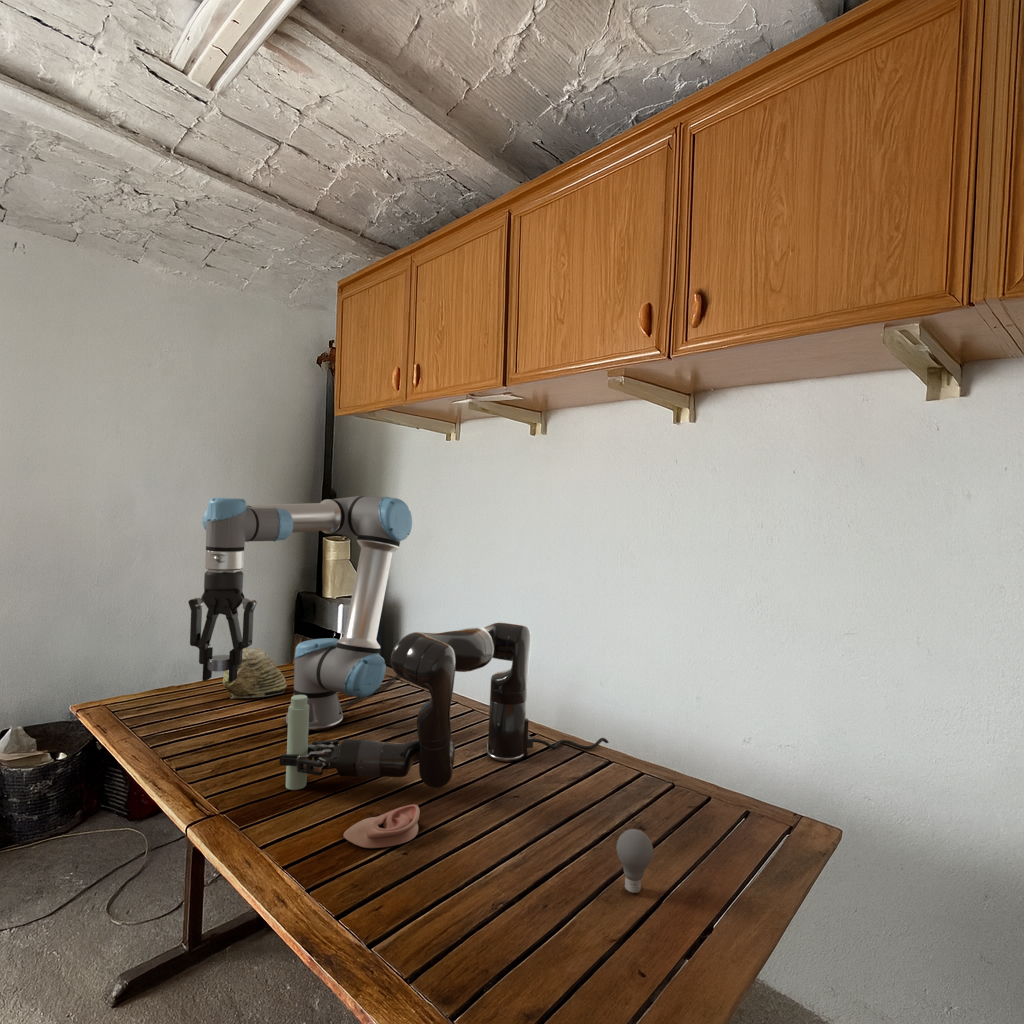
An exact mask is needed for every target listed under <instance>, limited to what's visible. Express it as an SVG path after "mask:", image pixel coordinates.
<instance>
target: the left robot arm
mask: <svg viewBox="0 0 1024 1024" xmlns="http://www.w3.org/2000/svg"><path fill="white" fill-rule="evenodd" d="M202 526H203V529H204V530H205V556H204V569H206V571H205V572H204V578H203V593H202V595H201V596H199V597H195V598H192V599H191V598H190V599H189V600H188V606H189V609H190V628H189V629H190V631H189V632H190V633H189V645H190V646H191V647H195V648H197V649H198V650H199V651H198V663H199V665H202V677H201V679H202V682H207V681H208V680H211V678H212V675H213V671H209V670H208V658H209V657H211V656H214V654H213V652H214V651H213V650H214V647H213V646H212V647H210V646H211V641H212V640H211V639H212V637H213V633H214V630H215V627H216V622H217V619H218V618H219V615H222V616H223V615H224V616H225V619H226V620H227V624H228V628H229V634H230V638H231V644H232V649H231V650H229V653H228V655H229V679H228V682H233V681H234V680H236V679H237V667H238V665H240V664H241V663H242V651H243V648H250V646H252V644H253V634H254V633H253V631H254V611H255V609H256V606H257V604H258V602H257V601H256V599H252V600H251V599H249V598H246V597H245V595H244V592H243V587H244V572H243V571H242V570H243V569H244V567H245V546H246V545H245V544H246V543H249V542H274V543H275V542H277V541H285V540H287V539H288V538H289V537H290V536H291V534H292V533H293V534H295V533H303V532H304V533H309V532H322V533H324V534H326V535H327V534H328V535H329V534H330V535H331V534H339V535H346V536H352V537H357V539H356V542H357V543H358V545H359V546H360V553H359V557H358V558H359V559H358V563H357V569H356V573H355V579H354V584H353V589H352V594H351V598H350V599H351V600H350V604H349V609H348V615H347V620H346V624H345V630H344V635H342V637H340V638H339V639H338V638H335V637H333V638H332V637H329V638H328V637H327V638H313V639H308V640H304V641H302V642H299V643H298V644H297V645H296V647H295V652H294V653H295V654H294V657H293V659H294V660H293V662H294V663H293V665H294V667H293V696H295V695H306V696H307V698H308V700H307V704H308V705H309V729H308V733H316V732H325V731H329V730H332V729H335V728H337V727H339V726H340V725H342V723H343V722H344V714H343V709H342V708H343V707H346V706H350V705H351V704H354V703H356V702H359V701H360V700H362V699H365V698H367V697H370V696H372V695H374V694H376V693H378V692H379V691H381V690H382V689H384V688H386V686H388V685H389V684H391V682H393V681H394V680H395V679H397V678H400V676H398V675H397V674H396V675H395V676H393V677H392V678H391V679H389V680H388V681H386V682H385V683H384V684H383V685H382V683H383V681H384V679H385V675H386V671H387V668H386V667H387V665H386V663H385V659H384V657H382V656H381V654H380V652H381V645H380V644H379V642H378V640H377V638H378V632H379V627H380V621H381V616H382V612H383V606H384V600H385V595H386V589H387V585H388V579H389V574H390V568H391V563H392V557H393V554H394V553H395V552H396V551H398V550H399V549H400V544H401V542H402V541H404V540H406V539H407V538H408V536H409V535H410V534H411V533H412V529H413V517H412V513H411V510H410V508H409V506H408V504H407V503H406V502H405V501H404V500H402V499H400V498H397V497H392V496H365V495H356V496H347V497H341V498H331V499H330V498H329V499H328V498H327V499H323V500H321V501H320V502H315V503H313V502H309V503H275V504H274V503H273V504H271V503H270V504H269V503H268V504H247V502H246V500H245V499H244V498H238V497H237V498H236V497H212V498H210V499H209V500H208V502H207V508H206V510H205V511H204V513H203V516H202ZM204 605H205V606H206V608H207V612H206V616H205V617H206V619H205V622H204V625H203V630H202V621H203V620H202V619H203V618H202V617H203V606H204ZM241 605H242V609H243V616H242V618H243V619H242V622H243V623H242V630H241V627H240V626H241V625H240V620H239V611H238V608H239V607H240V606H241ZM338 694H343V695H346V696H348V697H354V698H355V699H352V700H350V701H347V702H345V703H342V704H341V702H340V699H339V695H338ZM290 705H291V703H290V704H289V706H290ZM285 726H286V728H288V712H287V713H286V715H285Z"/></svg>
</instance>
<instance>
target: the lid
mask: <svg viewBox="0 0 1024 1024" xmlns="http://www.w3.org/2000/svg"><path fill="white" fill-rule="evenodd" d="M208 670H209V671H212V672H225V671H227V670H229V654H217V655H212V656H211V657H209V658H208Z"/></svg>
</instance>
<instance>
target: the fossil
mask: <svg viewBox="0 0 1024 1024" xmlns="http://www.w3.org/2000/svg"><path fill="white" fill-rule="evenodd" d="M222 676H223V677H222V685H223V687H224V688H225V690H226V691H228V693H229V698H230V699H250V698H264V697H271V696H275V695H281V694H284V693H285V691H286V689H287V687H288V686H287V680H286V678H285V676H284V674H283V673H282V672H281V669H279V668H278V667H277V665H276V663H275V662H274V660H273V659H272V658H271V657H270V656H269V655H268V654H267V653H266V652H265V650H264V649H263V648H260V647H258V648H251V647H247V648H243V651H242V663H241V664H240V665H238V667H237V679H236V680H234V681H233V682H228V679H229V670H227V671H223V675H222Z"/></svg>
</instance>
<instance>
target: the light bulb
mask: <svg viewBox="0 0 1024 1024" xmlns="http://www.w3.org/2000/svg"><path fill="white" fill-rule="evenodd" d="M615 849H616V854H617V857H618V859H619V861H620V863H621V865H622V867H623V873H624V874H623V875H624V876H625V878H624V888H625V890H627V891H628V892H630V893H634V894H635V893H639V892H640V891H641V889H642V887H641V886H642V879H643V877H644V875H645V871H646V868H647V867H648V866H649V864H650V863H651V861H652V859H653V855H654V847H653V843H652V841H651V838H649V836H648V835H647V834H646V833H645V832H643V831H642V830H641V829H636V828H629V829H627V830H625V831H623V832H622V833H621V834H620V835H619V837H618V839H617V841H616V847H615Z"/></svg>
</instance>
